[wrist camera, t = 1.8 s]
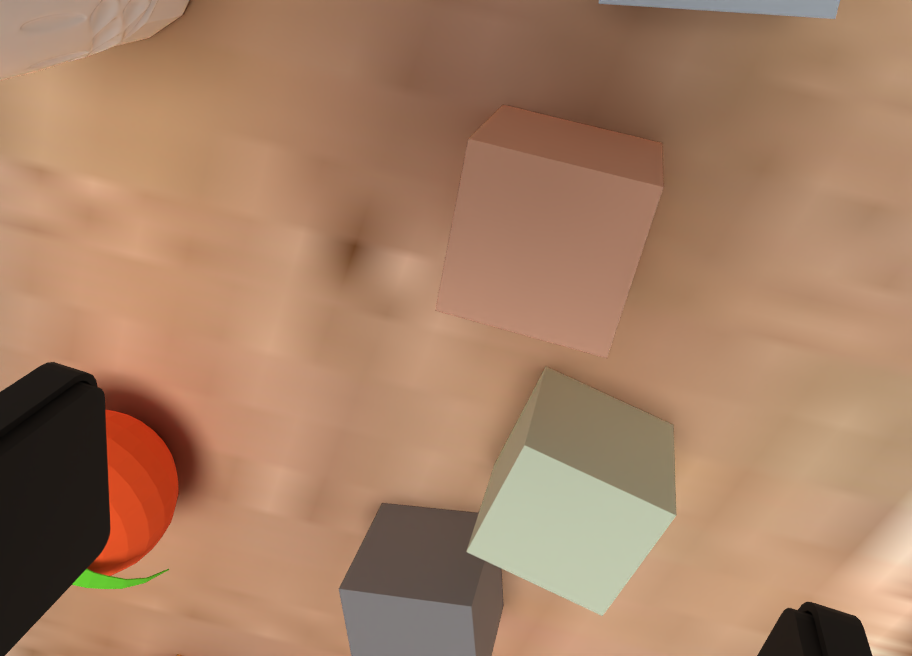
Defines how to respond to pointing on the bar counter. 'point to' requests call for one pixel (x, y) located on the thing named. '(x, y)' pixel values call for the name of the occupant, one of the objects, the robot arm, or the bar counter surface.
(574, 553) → the sage block
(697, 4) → the slate block
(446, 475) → the bar counter surface
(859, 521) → the bar counter surface
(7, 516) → the robot arm
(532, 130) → the terracotta block
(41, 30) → the white cup
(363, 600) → the charcoal block
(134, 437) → the clementine
